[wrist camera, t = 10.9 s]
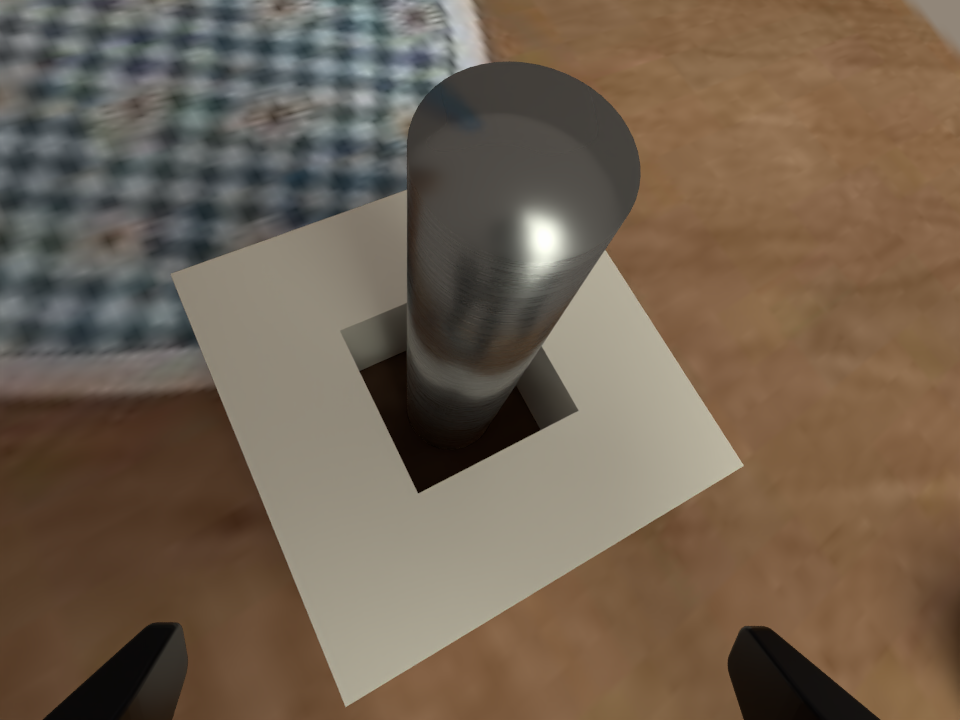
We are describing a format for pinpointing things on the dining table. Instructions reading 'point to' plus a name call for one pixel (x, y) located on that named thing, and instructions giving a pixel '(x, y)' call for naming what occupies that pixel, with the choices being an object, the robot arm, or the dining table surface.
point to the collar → (379, 468)
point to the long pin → (502, 231)
